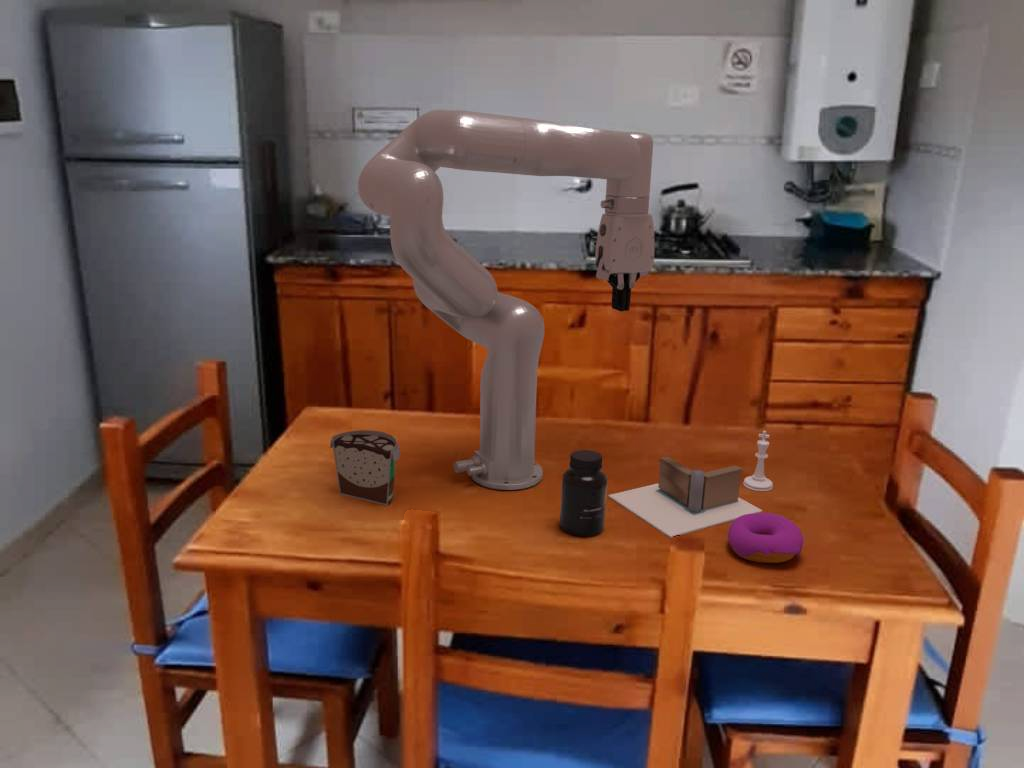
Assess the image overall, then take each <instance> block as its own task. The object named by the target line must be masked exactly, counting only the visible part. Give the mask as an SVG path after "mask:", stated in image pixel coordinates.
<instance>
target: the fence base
mask: <svg viewBox="0 0 1024 768" xmlns="http://www.w3.org/2000/svg"><path fill="white" fill-rule="evenodd" d="M742 472H743V468H742V467H740V466H738V465H735V464H734V465H731V466H727V467H723V468H718V469H715V470H714V469H713V470H711V471H706V472H705V471H704V470H701V469H693V470H692V474H691V484H690V495H689V505H685V504H684V503H682V502H680V501H679V500H677V499H676V498H674V497H673V496H671V495H669V494H668V493H666V492H665V491H663V490H662V489H660V488H658V485H659V482H658V483H654V484H649V485H646V486H641V487H637V488H633V489H628V490H624V491H620V492H615V493H611V494H607V495H608V496H607V497H608V498H609V499H611V500H612V501H614V502H616V503H617V504H619V505H620V506H621V507H622V508H624V509H626V510H627V511H629V512H631V513H632V514H633V515H635V516H637V517H638V518H640V519H641V520H643V521H644V522H646V523H647V524H649V525H650V526H652V527H654V528H655V529H656V530H658V531H659V532H661V533H662V534H663V535H666V536H667V537H669V538H670V539H673V538H674V537H673V536H676V535H680V536H682V535H686V534H690V533H693V532H696V531H701V530H704V529H705V530H706V529H708V528H711V527H714V526H718V525H721V524H725V523H729V522H733V521H734V520H735V519H736V518H738V517H740V516H742V515H745V514H751V513H764V512H763V509H760V508H759V507H757V506H755V505H753V504H751V503H750V502H747V501H746V500H744V499H743V498H740V497H739V494H740V487H741V486H740V484H741V476H742ZM676 537H677V536H676Z"/></svg>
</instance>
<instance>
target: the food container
mask: <svg viewBox="0 0 1024 768" xmlns="http://www.w3.org/2000/svg"><path fill="white" fill-rule="evenodd" d="M329 448H330V449H332V448H333V456H334V462H335V471H336V478H337V486H338V493H339V495H340V496H343V497H344V496H346V497H349V498H353V499H357V500H361V499H362V501H365V500H366V501H365V502H370V503H373V502H374V503H375V504H378V505H382V504H383V506H386V505H388V506H390V505H391V503H392V502H393V500H394V492H395V491H394V490H395V489H394V488H395V478H396V477H395V475H396V474H395V473H396V462H397V460H399V458H400V456H401V450H400V445H399V443H398V441H397V439H396V437H394V436H393V435H392V434H390V433H386V432H384V431H379V430H368V429H367V430H366V429H363V430H361V429H360V430H350V431H345V432H342V433H338V434H335V435H333V436H331V440H330V445H329ZM374 503H373V504H374Z"/></svg>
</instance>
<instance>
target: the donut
mask: <svg viewBox="0 0 1024 768" xmlns="http://www.w3.org/2000/svg"><path fill="white" fill-rule="evenodd" d="M727 532H728V533H727V537H728V542H729V545H730V546H731V547H732V550H733V551H734V553H735V554H737V556H739V557H740V558H742V559H745V560H747V561H751V562H756V563H762V564H779V563H784V562H788V561H789V560H791V559H793V558H794V557H795V556H796V557H800V554H801V552H802V550H803V545H804V537H803V534H802V531H801V530H800V529H799V527H798V526H797V525H796V524H795V522H793V521H792V520H790V519H789V518H787V517H785V516H783V515H780V514H777V513H772V512H771V513H770V512H761V513H751V514H745V515H742V516H740V517H738V518H736V519H735V520H733V521H731V524H730V526H729V528H728V531H727Z"/></svg>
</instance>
